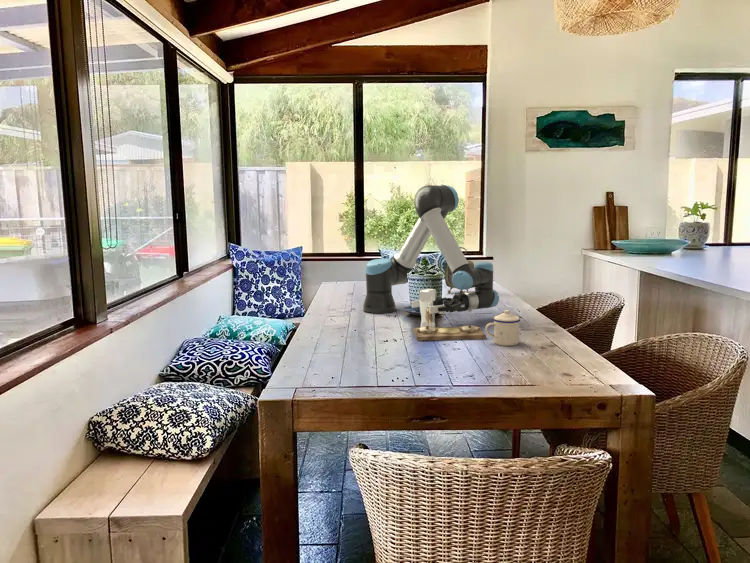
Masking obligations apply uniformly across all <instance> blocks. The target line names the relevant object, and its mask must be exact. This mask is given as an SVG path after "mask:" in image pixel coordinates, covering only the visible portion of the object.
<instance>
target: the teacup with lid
mask: <svg viewBox="0 0 750 563" xmlns="http://www.w3.org/2000/svg"><path fill="white" fill-rule="evenodd" d="M520 321H521V319H520V317H519V315H518V316H517V315H515V314H514V313H511V312H510V310H509V309H505V310H504V311H503V312H502V313H500V314H499V315H495V316H494V317H493V322H489V323H487V324H486V325H485V327H484V328H485V329H484V330H485V333H486V334H487V335H488V336H489V337H492V338H493V342H494V343H495V345H499V346H503V347H504V346H505V347H511V346H516V345H517V346H518V344H519V342H520ZM490 326H493V331H494V332H493V334H492V333H490V332H489V330H488V329H489V327H490Z"/></svg>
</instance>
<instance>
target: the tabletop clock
mask: <svg viewBox="0 0 750 563" xmlns="http://www.w3.org/2000/svg"><path fill="white" fill-rule="evenodd" d="M459 247H460V249H461V250H465V252H464V253H463V252H462V253H463V254H464V255H466V254H467V249H466V248H465V247H464V246H459ZM466 260H467V259H466ZM467 262H468V263H469V265H470V267H471V269H474V268H475V264H474V262H473V261H471V260H467ZM452 277H453V273H452V271H451V269H450V267H449V266H448V264H447V262H446V264H445V267H444V283H445V286H446V287H448V288H450V289H449V290H447V294H450V293H451V291H452V289H456V288H455V287H454V285H453V283H452ZM466 292H469V289H467V290H466ZM459 293H464V291H463V290H459Z"/></svg>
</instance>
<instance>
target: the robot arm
mask: <svg viewBox="0 0 750 563" xmlns="http://www.w3.org/2000/svg"><path fill="white" fill-rule="evenodd" d="M459 200H460V199H459V194H458V192H457V191H456V189H455V188H454V187H453V186H450V185H446V184H442V185H433V184H428V185H427V184H426V185H424V186H422V187H420V188H419V189H418V190H417V191H416V194H415V196H414V201H413V202H414V208H415V211H416V212H415V213H416V214H417V216H418V219H417V220H416V223H415V224H414V225H413V228H412V229H411V231H410V233H409V235H408V236H407V238H406V240H405V242H404V243H403V245H402V247H401V248H400V249H399V251H396V252H395V253H394V254H393V256H392V258H391V259H390V258H378V259H376V258H375V259H371V260H369V261H368V262H367V263H366V265H365V283H366V284H365V286H366V295H365V298H364V302H363V305H362V311H363V310H364V311H366V312H365V313H368V312H371V313H370V314H387V313H388V312H389V313H392V312H393V313H394V312H395V311H396V310H397V309H396V307H397V306H396V302H395V299H394V296H393V294H392V293H393V292H392V291H393V290H392V289H393V288H392V287H393V286H399V285H405V284H407V283H409V282H408V278H407V273H409V272H410V271H411V270H412V269H413V267H414V266H415V264H417V259H418V257H419V256H420V254H421V252H422V251H423V249H424V247H425V245H426V244H427V242H428V241H429V239H430V237H431V236H432V238H433V240H434V241H435V245H436V246H437V248H438V249H439V251H440V253H441V255H442V257H443V258H444V260H445V262H446V263H447V264H448V266H449V267H450V269H451V271H452V273H453V277H452V283H453V285H454V287H455V288H454V289H457V290H459V291H460V290H466V291H465V292H462V293H460V292H459V293H455V294H454V295H453V296H452V297H445V296H444V297H437V304H436V306H430V314H432V313H435V314H438V313H445V312H446V313H448V312H449V313H450V314H451V313H452V314H453V313H455V312H466V311H469V312H472V311H474V310H480V309H481V310H482V309H490V308H495V307H496V306H497V305H498V303H499V302H500V296H499V293H498V292H497V290H496V289H494V273H495V272H494V264H493V263H492V262H489V261H479V262H476V263H475V264H474V267H475V268H474V269H471V267H470V265H469V263H468V262H467V258H466V256H465V254H463V251H462V248H460V247H461V246H460V245H459V243H458V242H457V240H456V238H455V236H454V235H453V232H452V231H451V230H450V228H449V226H448V224H447V223H446V220H445V219H446V217H447V215H448V214H449V213H452V212H453V211H455V210H456V209H457V208H458V205H459ZM473 288H474V291H468V292H467V289H468V290H469V289H473ZM413 308H420V306H419V299H418V300H411V309H413ZM364 311H363V312H364ZM389 313H388V314H389Z"/></svg>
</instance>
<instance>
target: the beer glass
mask: <svg viewBox="0 0 750 563" xmlns="http://www.w3.org/2000/svg"><path fill="white" fill-rule="evenodd" d="M437 298H438V297H437V289H434V288H422V289H419V295H418V300H419V306H420V307H419V312H420V316H421V317H420V318H421V320H420V326H419V328H420V327H426V326H429V327H430V326H431V327H436V322H435V321H436V320H435V318H436V317H435V315H436V313H432V314H430V306H436V304H437Z"/></svg>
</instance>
